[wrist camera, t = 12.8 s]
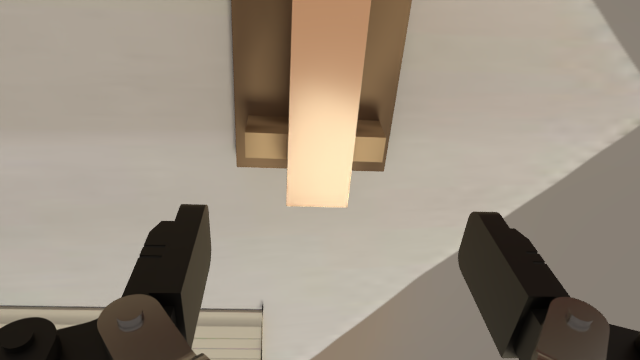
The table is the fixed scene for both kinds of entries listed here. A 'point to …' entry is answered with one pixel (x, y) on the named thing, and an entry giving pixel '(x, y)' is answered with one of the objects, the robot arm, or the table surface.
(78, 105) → the table surface
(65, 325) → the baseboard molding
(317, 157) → the clay bar
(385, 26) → the cleated wooden board
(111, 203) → the table surface
